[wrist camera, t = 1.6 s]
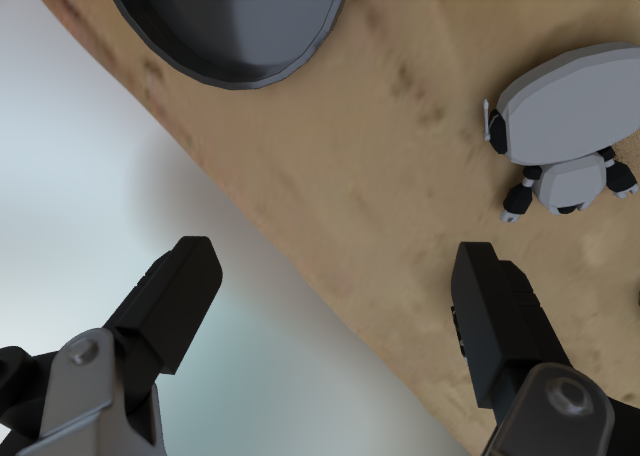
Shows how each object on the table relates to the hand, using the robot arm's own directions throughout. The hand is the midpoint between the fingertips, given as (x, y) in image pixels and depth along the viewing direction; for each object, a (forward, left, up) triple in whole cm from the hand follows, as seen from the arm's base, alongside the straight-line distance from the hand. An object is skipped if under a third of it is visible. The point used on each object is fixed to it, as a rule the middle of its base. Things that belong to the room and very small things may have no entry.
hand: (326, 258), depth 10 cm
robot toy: (+5, +18, -23) cm, 30 cm away
